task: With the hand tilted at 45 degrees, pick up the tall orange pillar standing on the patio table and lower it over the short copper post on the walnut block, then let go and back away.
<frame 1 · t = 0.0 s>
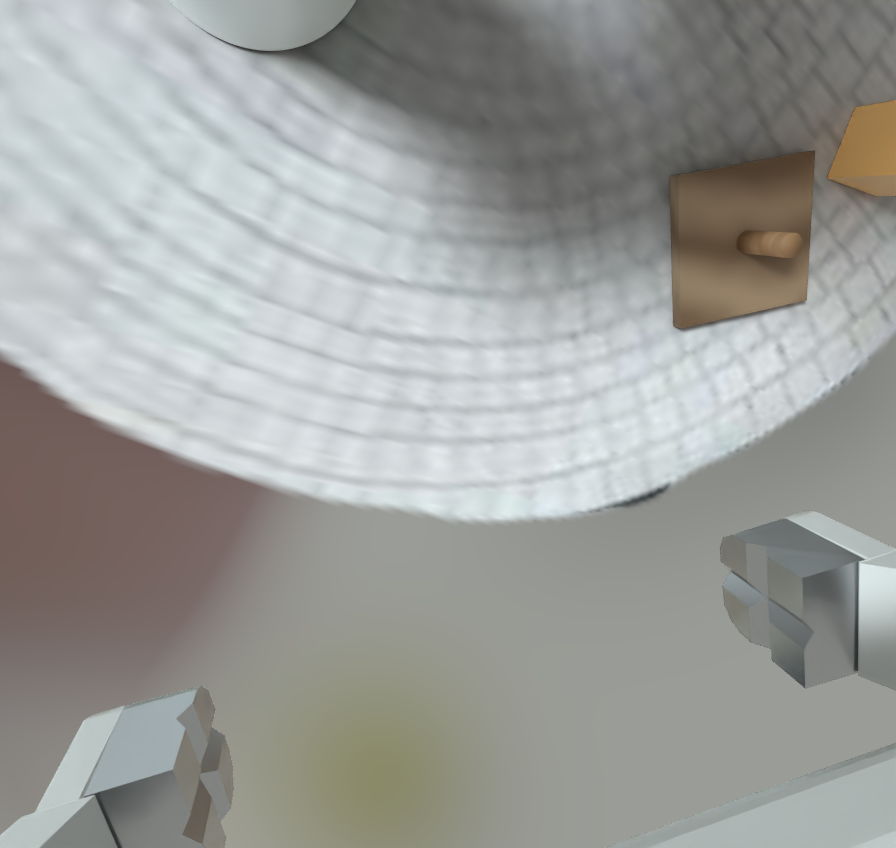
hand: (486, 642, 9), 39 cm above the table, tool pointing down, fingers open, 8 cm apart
tall orange pillar: (865, 153, 50), on the table
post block: (736, 241, 50), on the table
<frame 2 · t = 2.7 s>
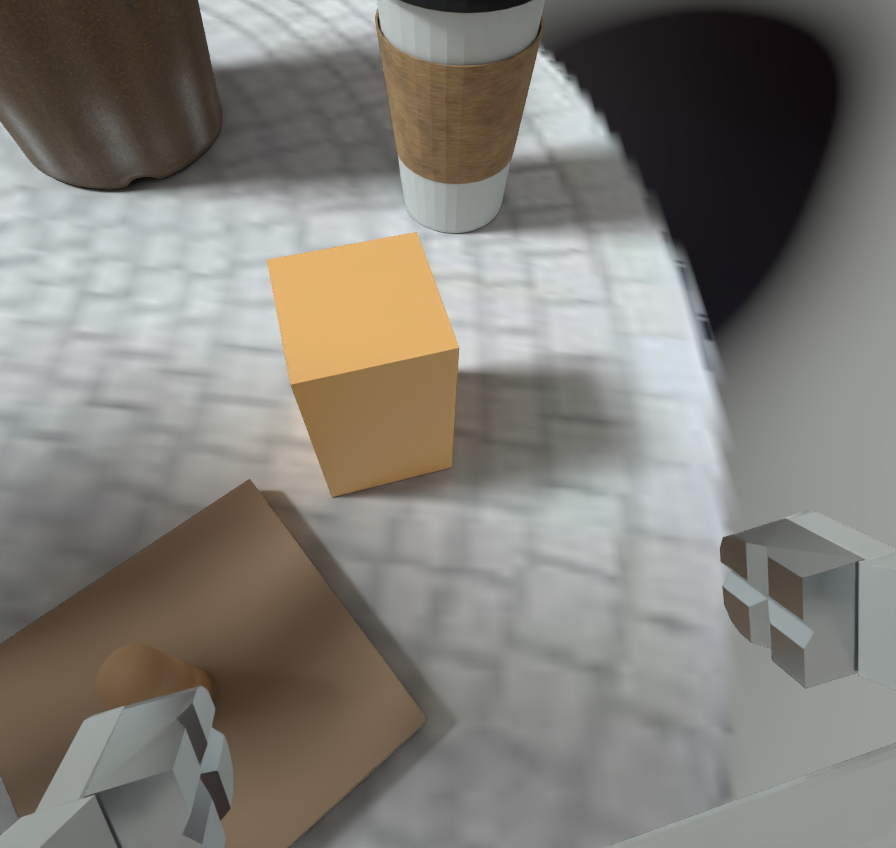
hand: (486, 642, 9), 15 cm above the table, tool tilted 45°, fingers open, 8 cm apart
tall orange pillar: (379, 430, 28), on the table
plant pot: (132, 132, 39), on the table
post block: (201, 698, 23), on the table
coffee cup: (452, 201, 37), on the table
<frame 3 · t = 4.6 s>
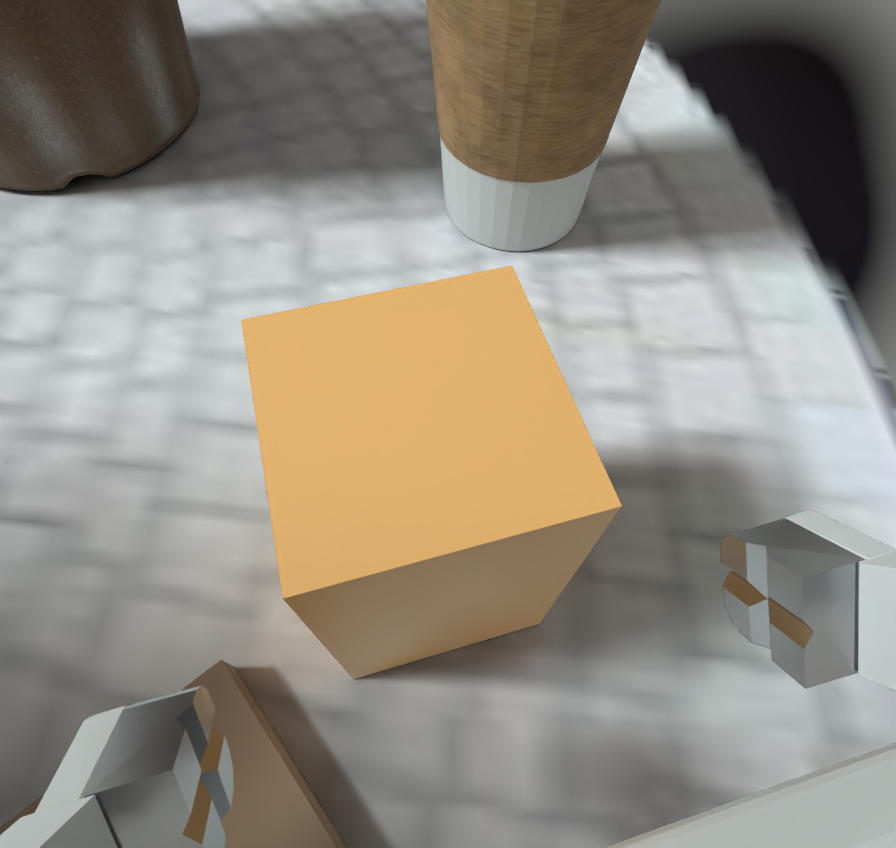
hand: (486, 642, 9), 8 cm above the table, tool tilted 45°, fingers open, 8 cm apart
tall orange pillar: (424, 559, 19), on the table
plant pot: (80, 116, 30), on the table
coffee cup: (511, 207, 27), on the table
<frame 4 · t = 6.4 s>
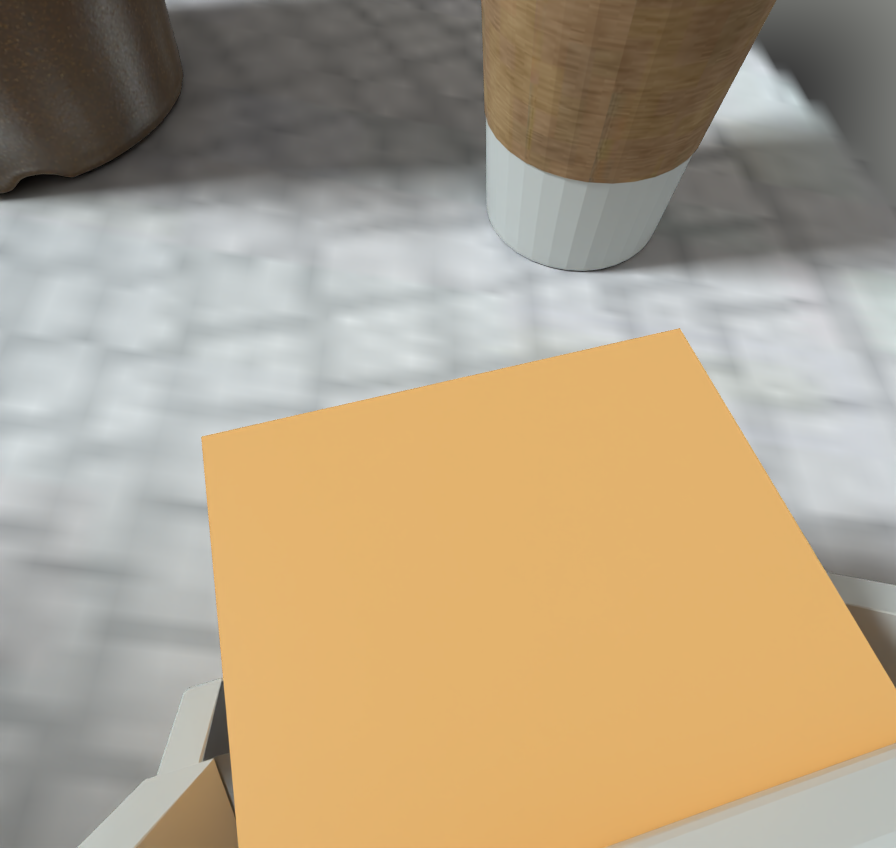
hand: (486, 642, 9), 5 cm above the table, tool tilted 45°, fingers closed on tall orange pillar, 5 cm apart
tall orange pillar: (480, 713, 13), on the table, touching gripper
plant pot: (38, 103, 24), on the table
coffee cup: (569, 214, 21), on the table
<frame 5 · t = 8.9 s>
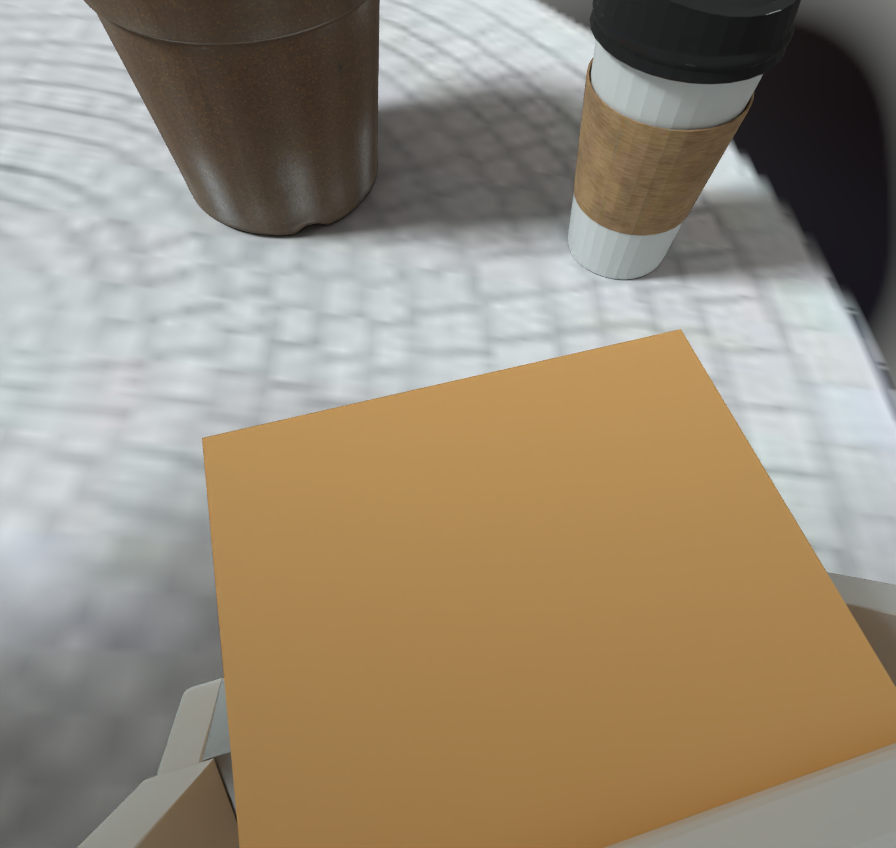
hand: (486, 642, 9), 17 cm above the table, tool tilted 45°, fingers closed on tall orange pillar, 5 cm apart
tall orange pillar: (480, 714, 13), point 12 cm above the table, touching gripper
plant pot: (290, 176, 40), on the table
coffee cup: (614, 246, 37), on the table
when the fingers open (8 cm above the table, at t = 11.6 s): tall orange pillar drops 2 cm, resting on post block.
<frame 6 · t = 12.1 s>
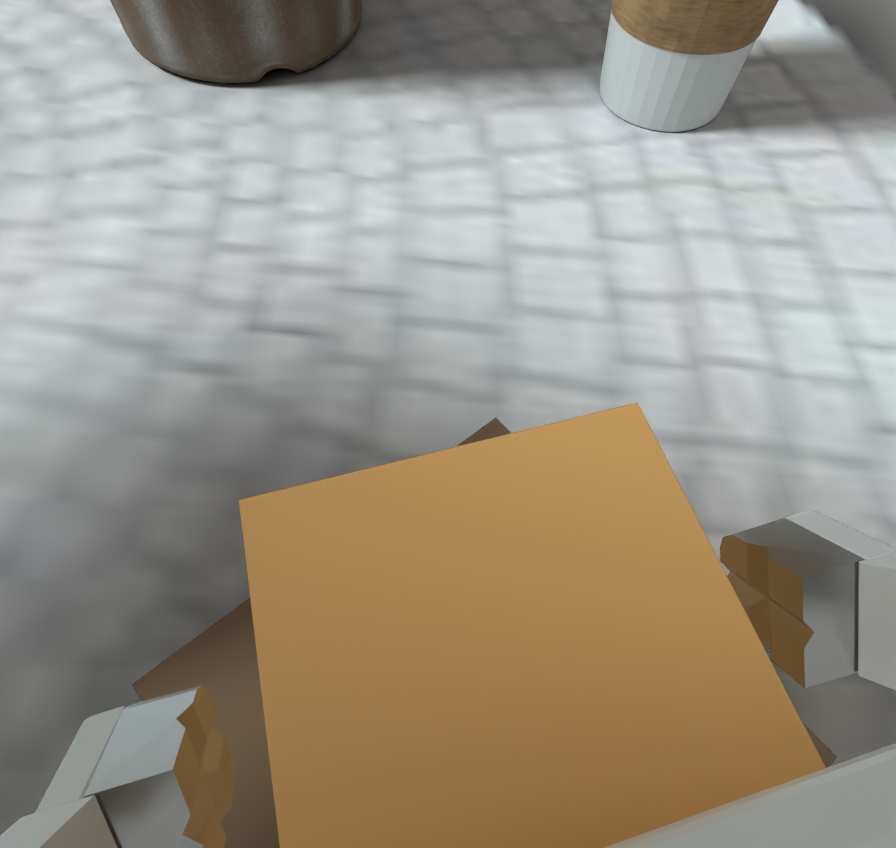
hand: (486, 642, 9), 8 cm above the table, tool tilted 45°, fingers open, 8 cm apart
tall orange pillar: (474, 721, 15), point 1 cm above the table, touching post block
plant pot: (254, 26, 33), on the table
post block: (474, 723, 16), on the table
coffee cup: (658, 98, 30), on the table
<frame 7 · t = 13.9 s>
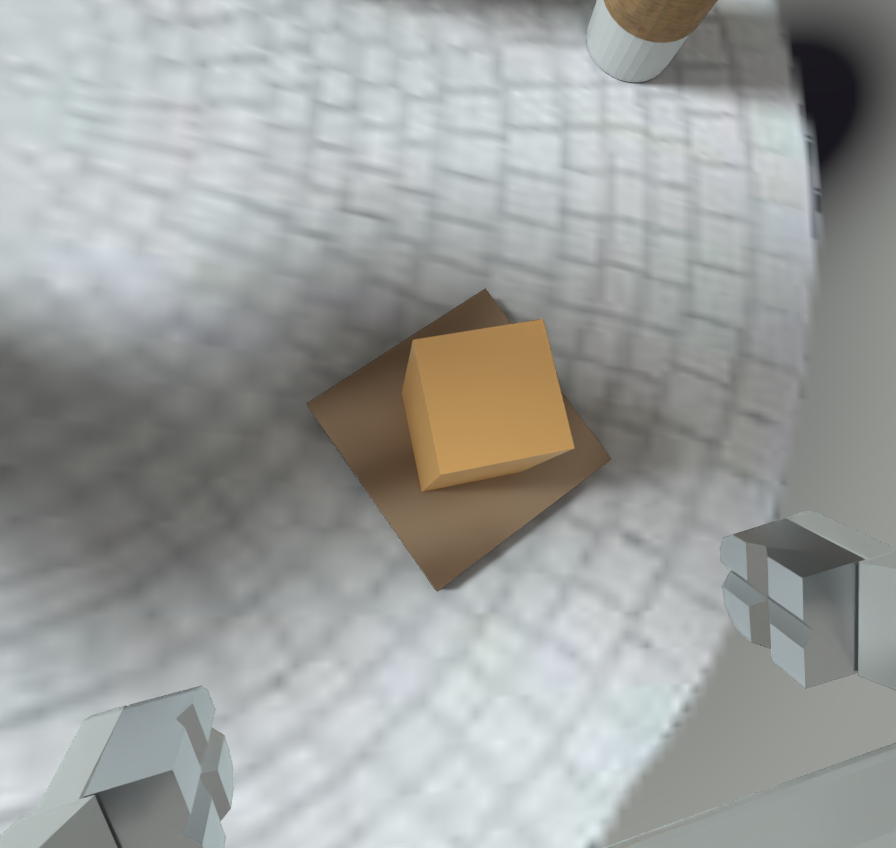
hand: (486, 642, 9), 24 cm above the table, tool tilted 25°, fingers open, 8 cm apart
tall orange pillar: (461, 432, 33), point 1 cm above the table, touching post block
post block: (459, 435, 34), on the table
coffee cup: (626, 46, 41), on the table
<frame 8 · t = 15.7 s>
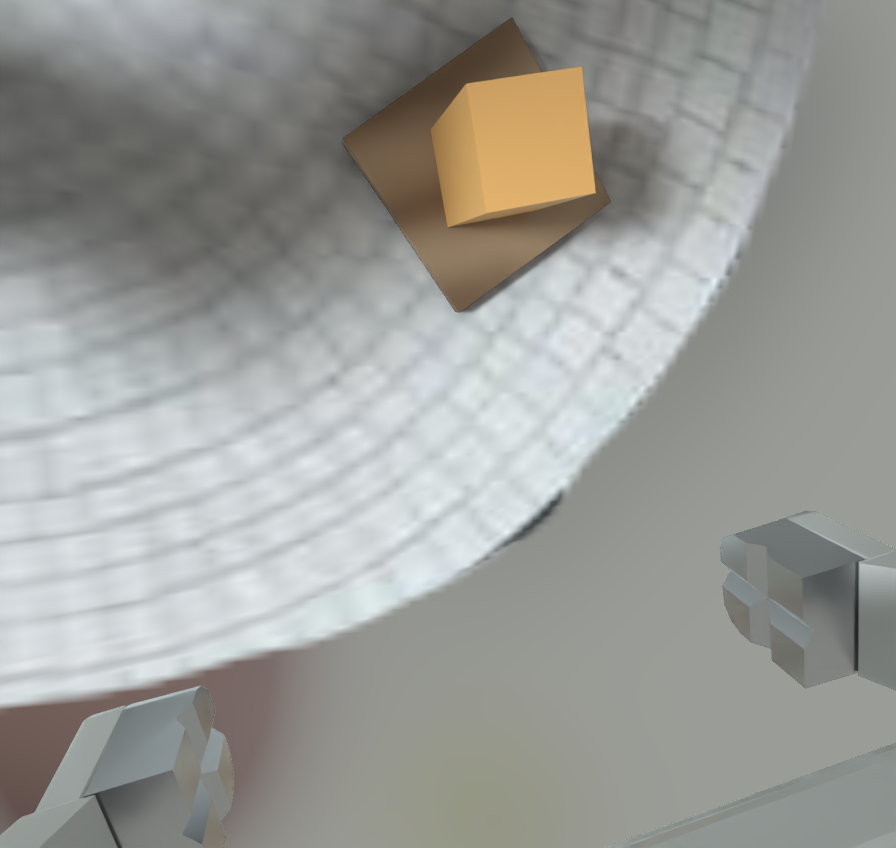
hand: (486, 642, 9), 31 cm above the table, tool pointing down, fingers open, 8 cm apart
tall orange pillar: (483, 172, 36), point 1 cm above the table, touching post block
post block: (479, 174, 38), on the table
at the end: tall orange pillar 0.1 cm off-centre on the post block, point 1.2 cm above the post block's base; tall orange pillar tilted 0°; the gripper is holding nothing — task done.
